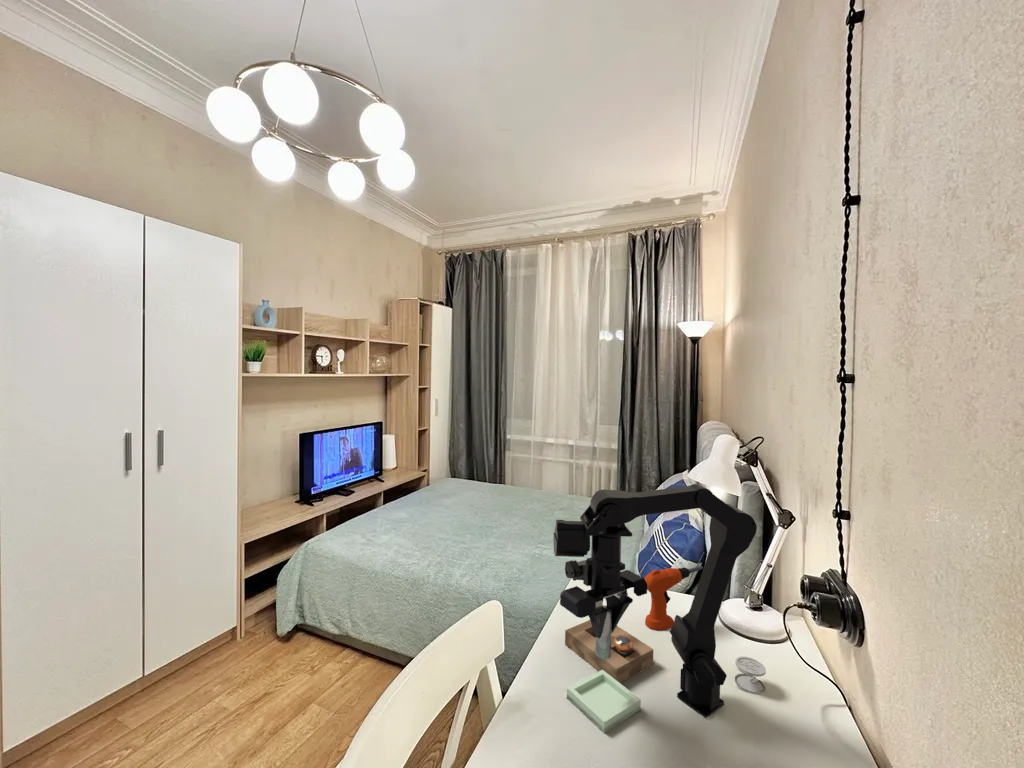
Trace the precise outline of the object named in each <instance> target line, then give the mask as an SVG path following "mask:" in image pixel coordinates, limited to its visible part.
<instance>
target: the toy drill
mask: <svg viewBox="0 0 1024 768" xmlns="http://www.w3.org/2000/svg"><path fill="white" fill-rule="evenodd" d="M703 569H704V565H703V566H702V565H700V566H696V567H692V568H687V567H679V568H675V567H674V568H673V567H669V568H665V569H660V570H659V569H653V570H652V571H651V572H649V573H648V574H646V575H645V577H644V579H645V581H646V583H647V592H649V593H650V598H651V600H650V601H651V604H650V605H651V606H650V611H649V614H647V615H646V616H645V620H644V624H645V626H646V628H648V629H650V630H653V631H664V630H669V629H672V627H673V625H674V620H675V619H673V617H672V616H670V615H669V614H668V613H667V612H668V611H667V609H668V607H667V606H668V605H667V604H668V603H669V602H670V600H671V597H670V596H669V595H668V592H667V591H668V590H670V589H671V588H673V587H675V586H677V584H679V583H680V582H682V580H684V579H687V578H689V577H690V575H691V574H692V573H694V572H698V571H700V570H702V571H703Z"/></svg>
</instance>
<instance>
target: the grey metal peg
mask: <svg viewBox="0 0 1024 768" xmlns="http://www.w3.org/2000/svg"><path fill="white" fill-rule="evenodd" d="M603 607H604V608H605V609H607V610H608V611H607V615H606V619H605V623H604V627H603V632H602V635H601V637H600V638H597V637H596V650H595V654H596V656H597V657H598V658H600V659H609V658H610V657H611V631H612V609H611V608H610V607H608V606H607V605H604V604H603Z"/></svg>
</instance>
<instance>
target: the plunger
mask: <svg viewBox="0 0 1024 768" xmlns="http://www.w3.org/2000/svg"><path fill="white" fill-rule="evenodd" d="M614 647H615V649H616V653H618V654H619V655H620V656H622V657H623V658H625V657H627V656H629V655H630V652H631V651H632V649H633V641H632V639H631V638H630V637H628V636H625V635H617V636H615V637H614Z"/></svg>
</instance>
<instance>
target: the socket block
mask: <svg viewBox="0 0 1024 768" xmlns="http://www.w3.org/2000/svg"><path fill="white" fill-rule="evenodd" d="M564 632H565V633H564V645H565V646H566V647H567V648H568V649H570V650H571V652H574V653H575V654H576V655H577V656H578V657H580V658H581V659H582V660H583V661H584V662H586V663H587V664H589V665H590V666H591V667H592V668H593V669H595V670H596V671H597V672H599V671H600V670H604V671H605V672H606V673H608V674H609V675H610V676H611V677H613V678H614V679H615V680H616V681H618V682H619V683H620V684H622V683H623V682H625V681H627V680H628V679H631V678H633V677H634V676H635V675H637V674H639V673H641V672H644V671H645V670H646V669H649V668H650V667H652V666H653V665H654V649H653V648H652V647H651V646H649V645H648V644H646V643H645V642H643V641H642V640H640V639H639V638H637V637H635V636H634V635H632V634H631V633H629V632H628V631H626V630H625V629H623V628H621V627H619V626H618V625H617V626H616V628H615V629H614V631H613V633H611V657H610V658H609V659H600V658H598V657H597V656H596V654H595V650H596V636H595V633H594V630H593V627H592V624H591V621H590V619H588V620H586V621H583V622H582V623H579V624H577V625H574V626H573V627H570V628H568V629H565V630H564ZM617 635H625V636H628V637H630V638H631V639H632V641H633V649H632V651H631V652H630V655H629V656H627V657H625V658H623V657H622V656H620V655H619V654H618V653H616V649H615V647H614V637H615V636H617Z"/></svg>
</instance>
